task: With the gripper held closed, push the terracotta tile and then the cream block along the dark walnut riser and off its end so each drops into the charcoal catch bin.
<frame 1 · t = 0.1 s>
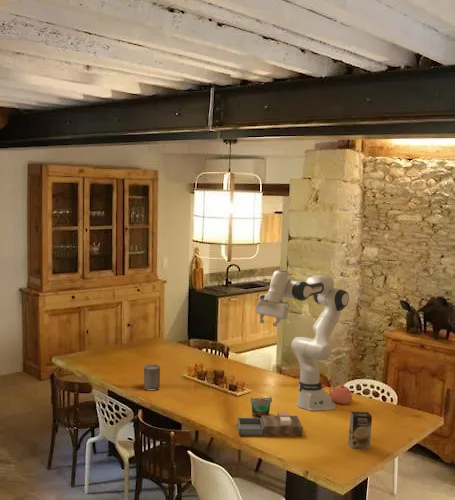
hand: (267, 324, 313), 52 cm above the table, tool tilted 20°, fingers open, 8 cm apart
catch bin: (250, 430, 304), on the table
smart speaker: (151, 388, 365), on the table
coffee box: (359, 446, 288), on the table
terracotta tile: (283, 418, 308), point 5 cm above the table, touching walnut riser
food container: (262, 416, 324), on the table
sugar bowl: (339, 402, 351), on the table
walnut riser: (281, 430, 305), on the table
cream block: (285, 423, 301), point 5 cm above the table, touching walnut riser
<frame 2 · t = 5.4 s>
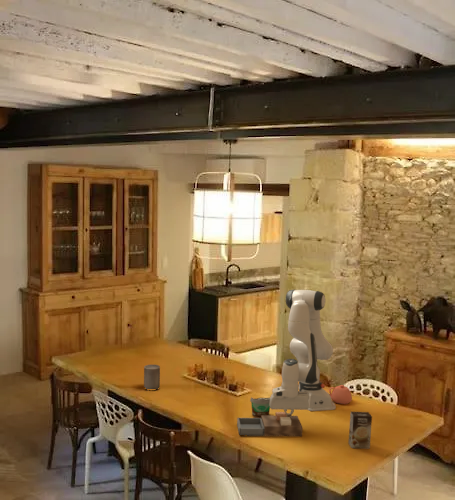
hand: (288, 417, 308), 6 cm above the table, tool pointing down, fingers closed
terracotta tile: (280, 418, 308), point 5 cm above the table, touching gripper, walnut riser
everything else where it was.
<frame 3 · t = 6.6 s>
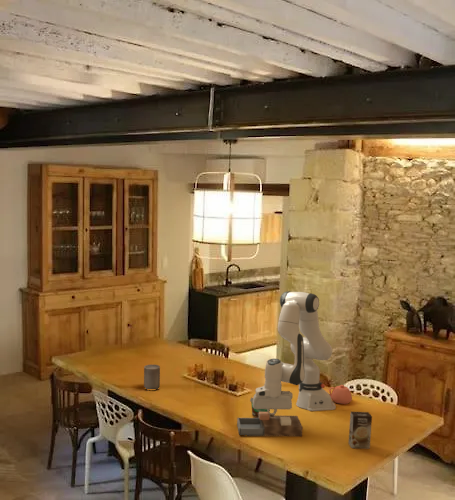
hand: (271, 417, 307), 6 cm above the table, tool pointing down, fingers closed
terracotta tile: (263, 418, 307), point 5 cm above the table, touching gripper
everything else where it was.
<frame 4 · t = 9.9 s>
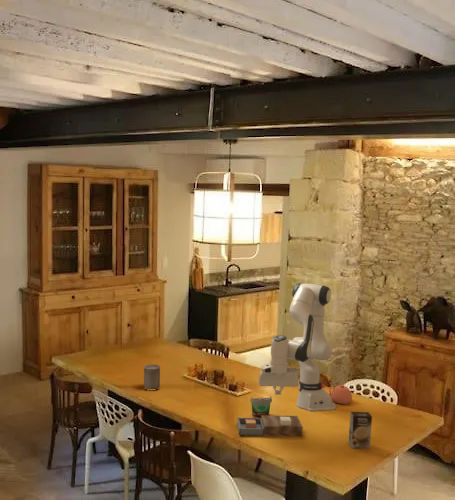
hand: (277, 394, 304), 19 cm above the table, tool pointing down, fingers closed
terracotta tile: (250, 421, 307), point 3 cm above the table, tilted 180°, touching catch bin
everything else where it was.
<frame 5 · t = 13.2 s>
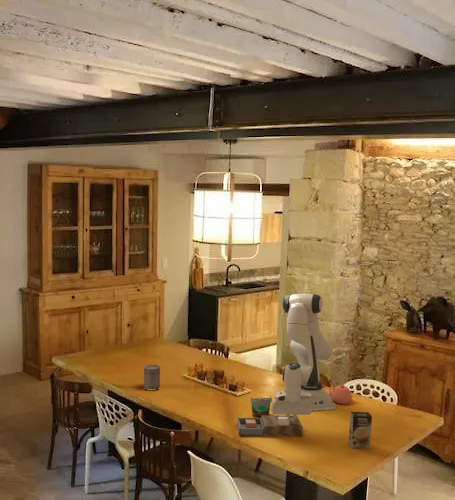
hand: (291, 422, 301), 6 cm above the table, tool pointing down, fingers closed
cream block: (283, 423, 301), point 5 cm above the table, touching gripper, walnut riser
everything else where it was.
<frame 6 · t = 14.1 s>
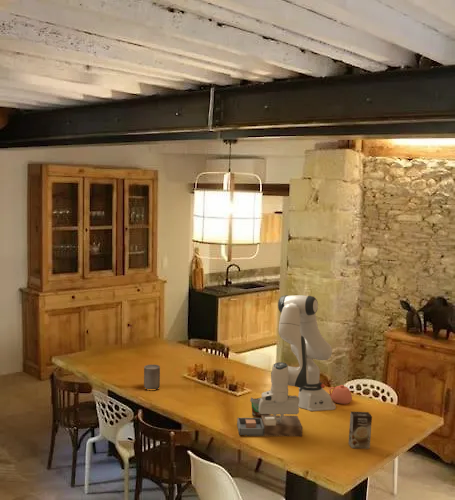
hand: (278, 422, 300), 6 cm above the table, tool pointing down, fingers closed
cream block: (270, 423, 300), point 5 cm above the table, touching gripper, walnut riser
everything else where it was.
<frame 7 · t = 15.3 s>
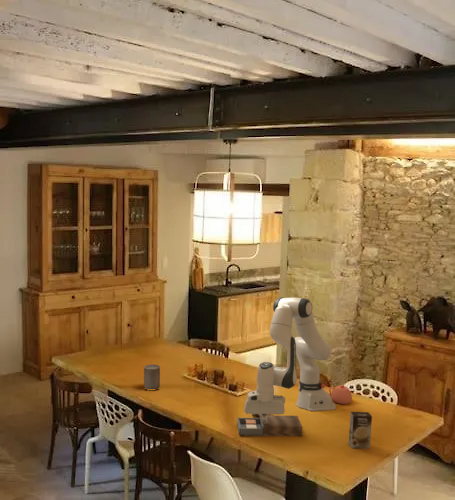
hand: (263, 422, 300), 6 cm above the table, tool pointing down, fingers closed
cream block: (251, 426, 300), point 3 cm above the table, tilted 180°, touching catch bin
everything else where it was.
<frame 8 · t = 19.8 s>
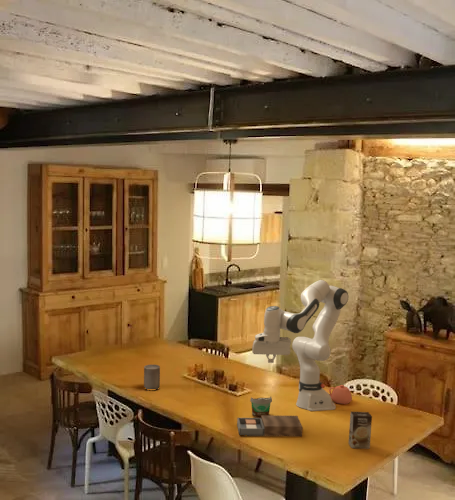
hand: (270, 362, 317), 31 cm above the table, tool pointing down, fingers closed
nothing on the table moved.
at the end: terracotta tile inside the target area (3.4 cm from its centre), point 3.3 cm above the table; cream block inside the target area (3.7 cm from its centre), point 3.3 cm above the table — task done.
